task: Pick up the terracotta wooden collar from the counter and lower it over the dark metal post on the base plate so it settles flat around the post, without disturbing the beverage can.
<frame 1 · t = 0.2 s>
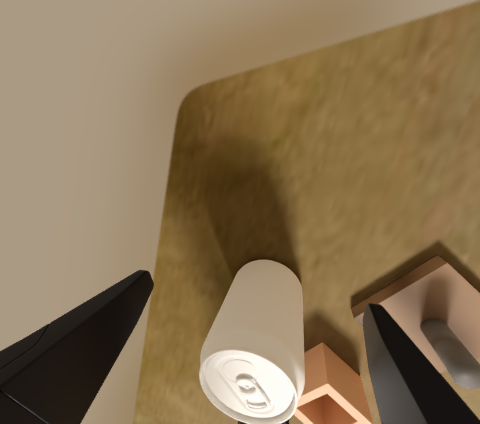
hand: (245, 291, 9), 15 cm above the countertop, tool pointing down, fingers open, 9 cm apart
post stand: (425, 316, 23), on the countertop
collar: (321, 369, 28), on the countertop
beverage can: (267, 285, 27), on the countertop
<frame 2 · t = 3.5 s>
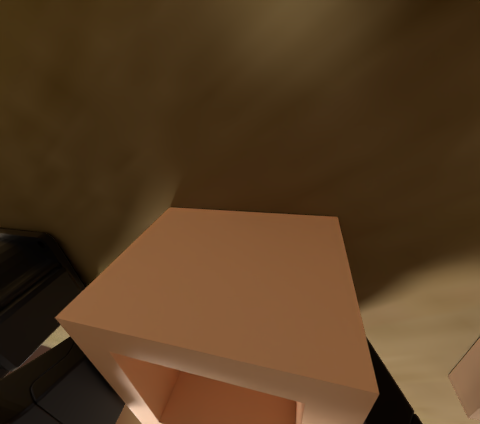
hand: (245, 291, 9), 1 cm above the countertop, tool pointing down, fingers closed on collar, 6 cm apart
collar: (250, 273, 10), on the countertop, touching gripper
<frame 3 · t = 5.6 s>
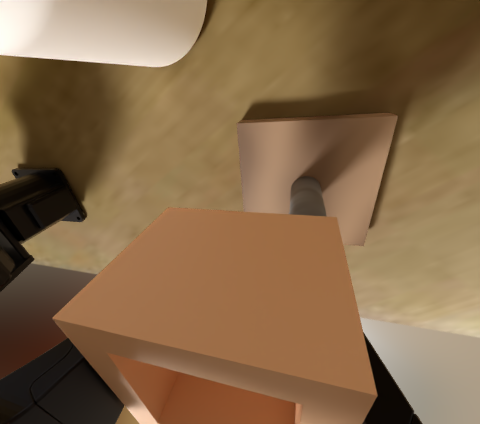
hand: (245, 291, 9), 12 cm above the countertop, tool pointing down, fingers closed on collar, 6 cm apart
post stand: (304, 182, 18), on the countertop
collar: (249, 273, 10), point 11 cm above the countertop, touching gripper
when the fingers open (4 cm above the countertop, at t = 8.1 s): collar drops 1 cm, resting on post stand.
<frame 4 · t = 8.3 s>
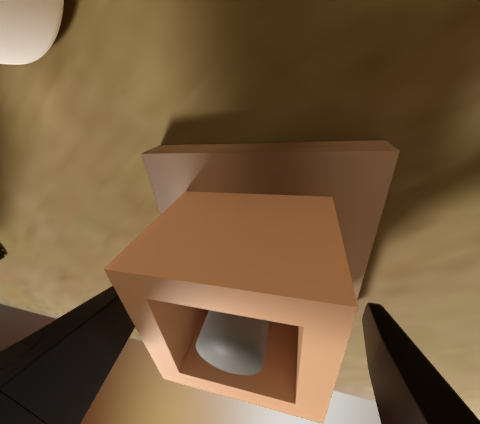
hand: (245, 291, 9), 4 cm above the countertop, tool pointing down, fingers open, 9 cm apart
post stand: (261, 234, 12), on the countertop
collar: (255, 251, 11), point 1 cm above the countertop, touching post stand
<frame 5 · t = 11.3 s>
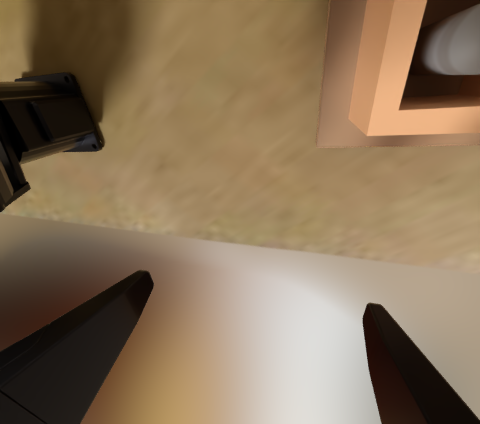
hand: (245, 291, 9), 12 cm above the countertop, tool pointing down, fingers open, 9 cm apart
post stand: (413, 53, 13), on the countertop
collar: (424, 50, 12), point 1 cm above the countertop, touching post stand
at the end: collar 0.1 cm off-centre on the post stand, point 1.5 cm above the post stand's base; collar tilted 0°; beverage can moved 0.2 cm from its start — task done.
